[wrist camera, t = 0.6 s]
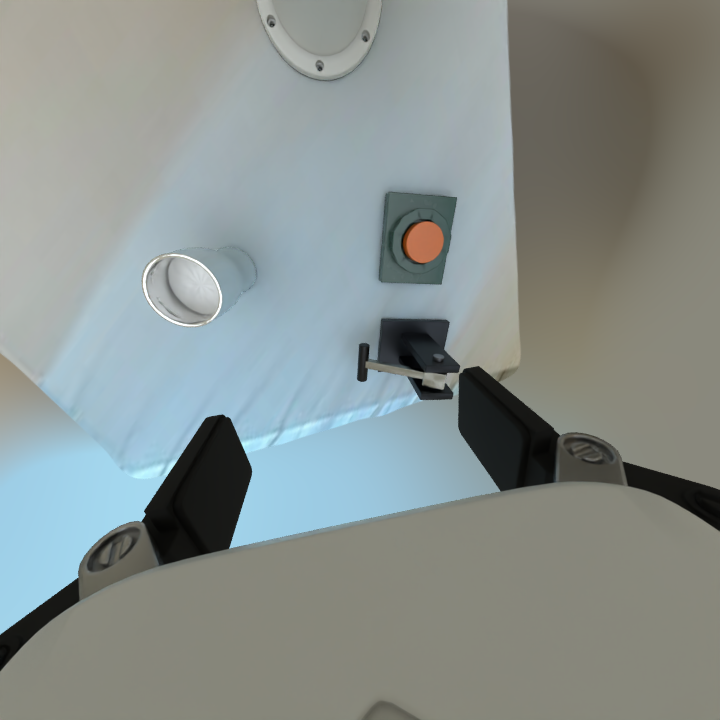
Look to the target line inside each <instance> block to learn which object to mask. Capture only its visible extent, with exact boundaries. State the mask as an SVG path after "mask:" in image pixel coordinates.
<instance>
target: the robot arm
mask: <svg viewBox="0 0 720 720" xmlns="http://www.w3.org/2000/svg"><path fill="white" fill-rule="evenodd" d="M256 2H257V6H258V10H259V13H260V16H261V19H262V22H263V25H264V28H265V30H266V32H267V34H268V36H269V38H270V40H271V42H272V43H273V45H274V46H275V48H276V49H277V51H278V52H279V54H280V55H281V56H282V57H283V58H284V59H285V60H286V61H287V62H288V64H289V65H290V66H292V67H293V68H294V69H296V70H297V71H299V72H300V73H302V74H304V75H306V76H308V77H310V78H314V79H319V80H334V79H337V78H340V77H343V76H345V75H347V74H348V73H350V72H351V71H353V70H354V69H355V68H356V67H357V66H358V65H359V64H360V63H361V62H362V61H363V59H364V58H365V56H366V55H367V53H368V51H369V50H370V47H371V45H372V43H373V41H374V38H375V35H376V31H377V28H378V24H379V19H380V14H381V9H382V0H256ZM271 24H274V25H275V26H274V27H270V25H271ZM364 38H365V39H366V40H367V42H364V41H363V39H364ZM319 67H320V68H322V71H318V68H319ZM458 416H459V417H458V427H459V430H460V433H461V435H462V436H463V438H464V439H465V440H466V442H467V443H468V445H469V446H470V448H471V449H472V450H473V452H474V453H475V455H476V456H477V458H478V459H479V461H480V462H481V464H482V465H483V466H484V468H485V469H486V471H487V472H488V473H489V475H490V476H491V478H492V479H493V481H494V482H495V483H496V485H497V486H498V488H499V489H500V491H501V492H496V493H491V494H485V495H480V496H475V497H470V498H466V499H461V500H456V501H451V502H446V503H441V504H436V505H431V506H427V507H422V508H417V509H412V510H407V511H402V512H397V513H393V514H388V515H384V516H378V517H374V518H369V519H364V520H360V521H355V522H350V523H345V524H341V525H336V526H331V527H327V528H323V529H317V530H313V531H308V532H304V533H299V534H294V535H290V536H285V537H280V538H276V539H271V540H267V541H262V542H258V543H253V544H249V545H244V546H239V547H235V548H231V549H229V547H230V544H231V541H232V537H233V534H234V531H235V528H236V525H237V521H238V518H239V515H240V512H241V508H242V505H243V502H244V498H245V495H246V492H247V489H248V485H249V482H250V479H251V476H252V468H251V465H250V463H249V461H248V458H247V456H246V454H245V451H244V449H243V447H242V444H241V442H240V440H239V437H238V435H237V433H236V430H235V428H234V426H233V424H232V421H231V419H230V418H229V417H225V416H224V415H217V416H211V417H207V418H206V419H205V420H204V422H203V423H202V425H201V426H200V428H199V429H198V431H197V432H196V434H195V435H194V437H193V438H192V440H191V441H190V443H189V444H188V446H187V447H186V449H185V450H184V452H183V453H182V455H181V456H180V458H179V459H178V461H177V462H176V464H175V465H174V467H173V468H172V470H171V471H170V473H169V474H168V476H167V477H166V479H165V480H164V482H163V484H162V485H161V486H160V488H159V489H158V491H157V492H156V494H155V495H154V497H153V498H152V500H151V502H150V503H149V504H148V506H147V508H146V509H145V511H144V512H145V514H146V515H145V517H144V519H143V520H142V522H139V521H134V522H129V523H126V524H124V525H121V526H119V527H117V528H115V529H114V530H112V531H110V532H109V533H108V534H106V535H105V536H103V537H102V538H101V539H100V540H99V541H98V542H96V543H95V544H94V545H93V546H92V548H91V549H90V550H89V551H88V552H87V553H86V555H85V556H84V558H83V560H82V561H81V563H80V566H79V571H78V576H79V578H77V579H76V580H74V581H73V582H72V583H70V584H69V585H68V586H66V587H65V588H63V589H62V590H61V591H59V592H58V593H57V594H55V595H54V596H52V597H51V598H50V599H48V600H47V601H46V602H44V603H43V604H42V605H40V606H39V607H37V608H36V609H35V610H33V611H32V612H31V613H29V614H28V615H26V616H25V617H24V618H22V619H21V620H20V621H18V622H17V623H16V624H14V625H13V626H11V627H10V628H9V629H8V630H6V631H5V632H3V633H2V634H1V635H0V720H720V490H718V489H716V488H713V487H710V486H706V485H703V484H699V483H696V482H692V481H689V480H685V479H682V478H678V477H675V476H671V475H668V474H664V473H661V472H657V471H654V470H650V469H647V468H643V467H640V466H636V465H633V464H629V463H626V462H622V458H621V456H620V454H619V452H618V451H617V450H616V449H615V448H614V447H613V446H612V445H611V444H609V443H607V442H606V441H604V440H602V439H600V438H598V437H595V436H592V435H588V434H584V433H577V432H576V433H566V434H562V435H561V436H560V435H559V434H558V433H557V432H555V431H554V428H553V427H552V426H550V425H549V424H548V423H547V422H546V421H544V420H543V419H542V418H541V417H539V416H538V415H537V414H536V413H535V412H534V411H532V410H531V409H530V408H528V406H526V405H525V404H524V403H523V402H522V401H520V400H519V399H518V398H517V397H516V396H514V395H513V394H512V393H510V392H509V391H508V390H507V389H506V388H505V387H503V386H502V385H501V384H500V383H499V382H497V381H496V380H495V379H494V378H493V377H491V376H490V375H489V374H488V373H487V372H485V371H484V370H483V369H482V368H481V367H479V366H477V367H472V368H466V369H464V370H463V373H460V375H459V414H458Z"/></svg>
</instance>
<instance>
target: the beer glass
mask: <svg viewBox="0 0 720 720" xmlns="http://www.w3.org/2000/svg"><path fill="white" fill-rule="evenodd" d="M255 280H256V267H255V264H254V262H253V261H252V259H251V258H250V257H249V255H248V254H246V253H245V252H244V251H242V250H240V249H238V248H235V247H223V248H220V249H218V250H214V249H209V248H202V247H195V248H185V249H180V250H176V251H173V252H170V253H167V254H162V255H159V256H157V257H155V258H154V259H152V260H151V261H150V262H149V263H148V264H147V266H146V267H145V269H144V271H143V274H142V289H143V293H144V295H145V298H146V300H147V301H148V303H149V305H150V306H151V307H152V308H153V310H154V311H155V312H156V313H157V314H159V315H160V316H161V317H162V318H164V319H165V320H167V321H169V322H171V323H173V324H176V325H179V326H183V327H200V326H204V325H206V324H208V323H210V322H211V321H213V320H215V319H217V318H218V317H220V316H222V315H223V314H225V313H226V312H227V311H229V310H230V309H231V308H232V307H233V306H234V305H235V304H236V302H237V301H238V299H239V297H240V295H241V293H242V292H245V291H247V290H248V289H250V288H251V287H252V286H253V284H254V283H255Z"/></svg>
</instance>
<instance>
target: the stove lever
mask: <svg viewBox="0 0 720 720" xmlns="http://www.w3.org/2000/svg"><path fill="white" fill-rule="evenodd" d="M368 369H373V370H378V371H383V372H388V373H393V374H398V375H403V376H408V377H413V378H418V379H423V382H422V386H427V387H431V388H436V389H441V390H444V386H445V381H446V377H447V373H425V372H424V370H423V369H420V368H414V367H409V366H404V365H399V364H393V363H388V362H383V361H377V360H372V359H369V344H367V343H361V344H359V356H358V373H357V380H358V381H361V382H364V381H366V380H367V372H368Z"/></svg>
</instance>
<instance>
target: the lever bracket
mask: <svg viewBox="0 0 720 720" xmlns="http://www.w3.org/2000/svg"><path fill="white" fill-rule="evenodd" d="M449 323H450V322H449V321H447V320H417V319H382V320H381V331H380V341H379V352H378V361H383V362H388V363H393V364H399V365H404V366H409V367H414V368H420V369H423V370H424V372H425V373H458V372H459V369H460V365H459V364H458V363H457V362H456V361H455V360H454V359H453V358H452V357H451V356H450V355H449V354H448V353H447V352H446V351H445V350H444V347H445V342H446V337H447V332H448V328H449ZM378 372H383V371H378ZM407 377H408V376H407ZM408 379H409V381H410V382H411V384H412V386H413V388H414V389H415V391H416V393H417V395H418V397H419V398H420V400H442V399H452V397H453V392H452V391H451V389H450V388H449V387H448V386H447V384H446V383H445V386H444V390H441V389H436V388H431V387H427V386H422V382H423V379H418V378H413V377H408Z"/></svg>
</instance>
